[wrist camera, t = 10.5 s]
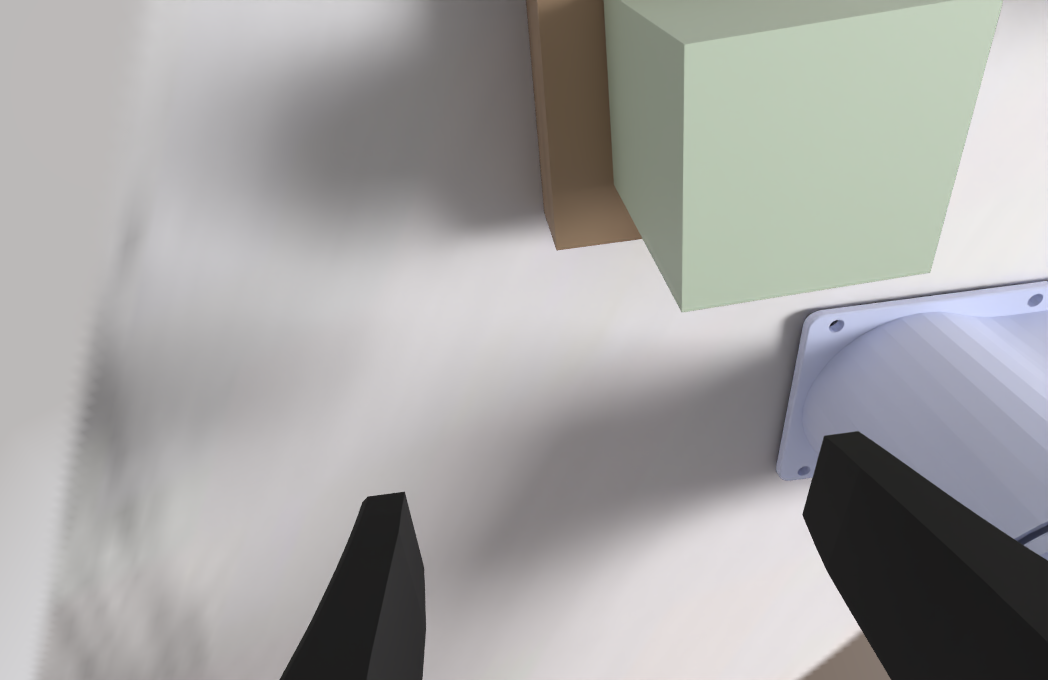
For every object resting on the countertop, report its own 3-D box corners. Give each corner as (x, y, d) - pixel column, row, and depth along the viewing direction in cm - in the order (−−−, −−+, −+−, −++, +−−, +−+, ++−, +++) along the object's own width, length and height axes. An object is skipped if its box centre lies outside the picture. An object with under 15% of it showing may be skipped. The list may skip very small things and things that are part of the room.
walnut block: (848, -154, 15) (926, -165, 13) (799, 172, 20) (850, 210, 17) (514, -114, 15) (528, -119, 13) (542, 206, 20) (556, 250, 17)
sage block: (807, -45, 14) (1005, -9, 9) (786, 156, 16) (930, 272, 11) (603, -11, 14) (684, 44, 9) (613, 184, 16) (682, 312, 11)
